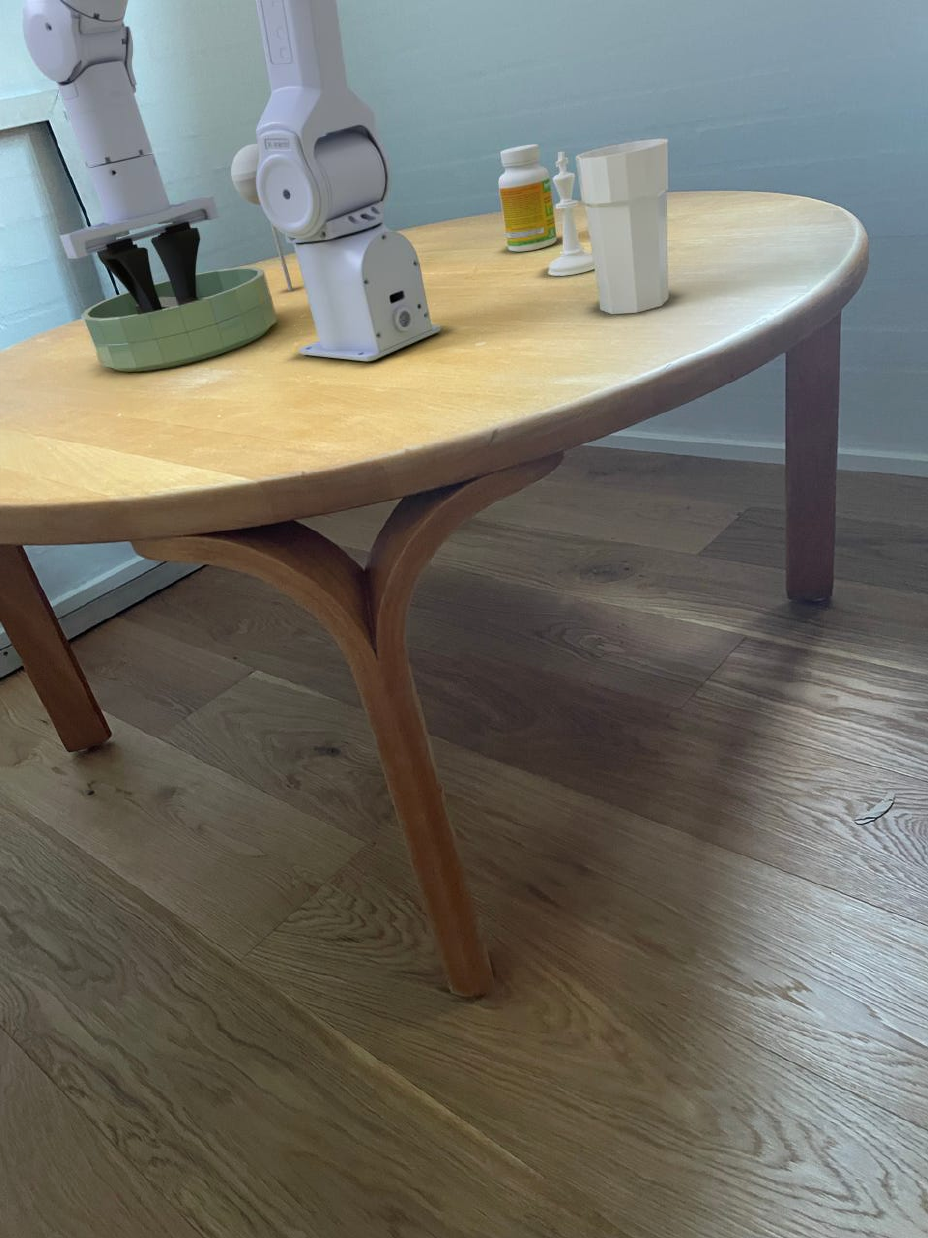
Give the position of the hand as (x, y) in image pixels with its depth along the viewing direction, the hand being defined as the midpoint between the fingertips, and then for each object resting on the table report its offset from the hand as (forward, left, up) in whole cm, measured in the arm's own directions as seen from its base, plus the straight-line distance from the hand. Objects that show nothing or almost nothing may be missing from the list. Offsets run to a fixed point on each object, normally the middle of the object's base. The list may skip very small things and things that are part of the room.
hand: (174, 318), depth 86 cm
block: (0, 0, -1) cm, 1 cm away
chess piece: (-25, -28, -3) cm, 38 cm away
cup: (-39, -18, -3) cm, 43 cm away
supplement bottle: (-12, -37, -3) cm, 39 cm away
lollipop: (+9, -19, -3) cm, 21 cm away
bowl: (+1, -1, -3) cm, 3 cm away
